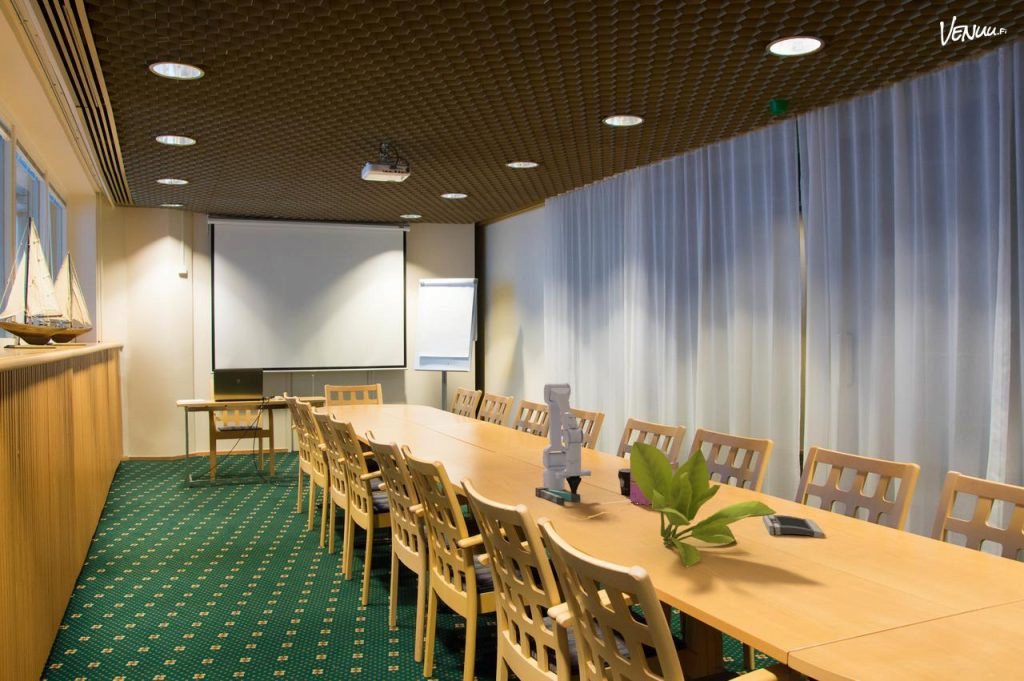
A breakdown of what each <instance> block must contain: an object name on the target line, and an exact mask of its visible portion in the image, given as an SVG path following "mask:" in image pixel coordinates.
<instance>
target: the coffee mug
mask: <svg viewBox="0 0 1024 681" xmlns="http://www.w3.org/2000/svg"><path fill="white" fill-rule="evenodd" d="M617 471H618V473H617V477H618V480H619V486H620V493H621V494H620V495H621V496H624V497H625V496H626V497H630V467H629V468H628V467H627V468H620V469H618V470H617Z"/></svg>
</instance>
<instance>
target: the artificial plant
mask: <svg viewBox="0 0 1024 681" xmlns="http://www.w3.org/2000/svg"><path fill="white" fill-rule="evenodd" d="M670 463H671V462H670V460H669V459H668V457H667V456H666V455H665V454H664V453H663V452H662V450H660V449H658V448H656V447H655V446H653V445H651V444H649V443H645V442H640V441H633V444H632V446H631V449H630V454H629V466H630V467H629V468H631V472H632V476H633V478H634V480H635V482H636V484H637V485H638V487H639V488H640V490H641V491H642V493H643V495H644V496H645V497H646V498H647V499H648V500H649V501H650V502H651V503H652V504H651V506H652V507H651V508H652V510H654V511H659V512H660V521H661V523H660V537H661V538H663V540H662V541H663V545H664V546H665V545H669V544H671V545H675V546H676V547H677V549H678V551H679V553H680V556H681V560H682V562H683V565H684V567H685V568H688V567H687V566H689V567H691V566H692V565H695V564H697V563H698V562H700V561H701V558H702V557H701V554H700V552H699V550H698V549H697V548H696V546H693V545H691V544H690V543H686V542H682V540H685V539H688V538H694V539H697V540H699V541H701V542H704V543H706V544H707V543H709V544H729V543H732V542H734V541H736V542H737V540H736V538H735V536H734V534H733V532H732V530H731V528H730V527H729V525H730V524H733V523H734V524H735V523H736V522H738V521H740V520H743V519H745V518H754V517H755V518H757V517H758V518H759V517H763V516H767V515H775V514H776V513H777V511H775V510H774V509H772V508H771V507H769V506H768V505H767V504H765V503H763V502H762V501H760V500H749V501H748V500H747V501H743V502H739V503H735V504H732V505H731V504H730V505H728V506H725V507H722V508H721V509H719V510H718V511H716V512H715V513H713V514H711V515H710V516H708V517H707V518H705V519H701V520H700V521H699V522H697V524H695V525H693V526H691V527H688V528H686V529H683V530H681V531H680V532H678V533H677V531H678V528H679V527H681V526H690V525H691V521H694V519H695V518H696V516H697V513H698V512H699V510H700V509H701V507H702V506H703V505H704V504H706V502H708V501H709V500H711V499H712V498H713V497H714V496H715V495H716V494H717V492H718V491H719V490H720V488H721V484H714V485H712V486H710V472H709V469H708V465H707V460H706V458H705V456H704V453H703V452H702V449H701V448H697V449H696V450H695V451H694V452H693V453H692V455H691V456H690V457H689V458H688V459H687V460H686V461H685V462H683V464H682V465H679V466H680V467H679V469H678V470H677V471H676V472H675V474H674V475H673V477H672V468H671V464H670ZM668 505H669V506H668ZM664 515H665V516H664ZM665 517H666V519H667V520H668V523H669V524H668V525H667V526H666V527H665ZM673 526H674V528H673ZM672 528H673V529H672ZM689 532H690V534H688V535H685V536H682V535H684V534H686V533H689Z"/></svg>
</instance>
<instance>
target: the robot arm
mask: <svg viewBox="0 0 1024 681" xmlns="http://www.w3.org/2000/svg"><path fill="white" fill-rule="evenodd" d="M571 391H572V389H571V385H570V383H568V382H558V383H553V382H550V383H549V382H546V383H545V384H544V387H543V400H544V403H545V404H547V407H548V425H549V426H548V427H549V428H548V429H549V430H548V431H549V444H548V445H547V446H546V447H545V448H544V449H543V451H542V452H543V453H542V464H543V467H544V468H545V469H544V470H543V474H542V476H543V477H542V478H543V480H542V481H543V482H542V483H543V486H542V487H548V488H549V490H556V491H565V489H566V488H565V487H566V485H565V484H566V482H565V480H566V481H567V484H568V486H569V489H570V493H575V494H578V488H579V486H580V484H581V482H582V477H592V470H589V469H588V470H587V469H586V470H582V444H583V442H584V430H583V429H582V428H581V426H579V424H578V421H577V419H576V415H575V414H574V413H572V410H571V405H570V397H571V393H572V392H571ZM562 429H563V442H564V444H562Z"/></svg>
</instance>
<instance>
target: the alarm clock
mask: <svg viewBox="0 0 1024 681" xmlns="http://www.w3.org/2000/svg"><path fill="white" fill-rule="evenodd" d="M763 522H764V523H763ZM762 523H763V524H765V525H764V527H765V528H766V530H767V533H768V534H769V536H775V535H776V536H777V535H778V536H779V535H786V534H787V535H789V534H792V535H793V534H794V535H806V536H810V537H814V538H823V536H824V535H823V534H824V532H823V530H822V529H821V528H820V526H819V525H818V524H817V523H816V522H815V520H813V519H810V518H806V517H804V518H801V517H797V516H792V515H791V516H790V515H782V514H781V515H780V514H778V515H777V514H776V515H775V514H773V515H767V516H762Z"/></svg>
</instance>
